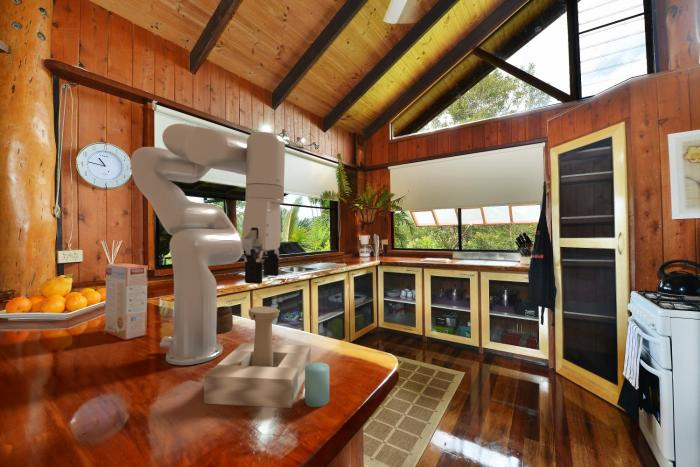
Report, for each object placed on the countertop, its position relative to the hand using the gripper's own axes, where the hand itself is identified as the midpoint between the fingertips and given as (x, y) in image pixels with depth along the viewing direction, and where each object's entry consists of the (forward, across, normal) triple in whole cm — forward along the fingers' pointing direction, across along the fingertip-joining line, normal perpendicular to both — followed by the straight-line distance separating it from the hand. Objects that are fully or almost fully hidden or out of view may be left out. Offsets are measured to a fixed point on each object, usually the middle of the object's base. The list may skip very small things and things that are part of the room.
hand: (263, 278), depth 61 cm
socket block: (+21, 0, +1) cm, 21 cm away
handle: (+22, 0, +1) cm, 22 cm away
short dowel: (+21, +5, +13) cm, 25 cm away
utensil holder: (+22, -31, -24) cm, 45 cm away
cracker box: (+23, -25, -51) cm, 61 cm away
